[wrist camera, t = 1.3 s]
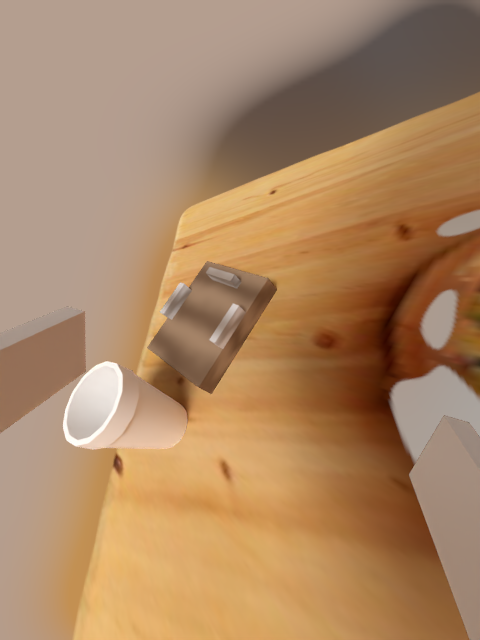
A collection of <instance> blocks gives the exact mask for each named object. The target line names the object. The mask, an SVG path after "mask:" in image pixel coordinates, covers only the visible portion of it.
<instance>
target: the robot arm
mask: <svg viewBox="0 0 480 640" xmlns="http://www.w3.org/2000/svg"><path fill="white" fill-rule="evenodd" d="M85 362H86V361H85V311H82V310H78V309H75V308H72V307H68V306H67V307H64V308H62V309H59V310H57V311H54V312H52V313H49V314H47V315H45V316H42V317H39V318H37V319H34V320H32V321H29V322H27V323H24V324H22V325H19V326H17V327H14V328H12V329H10V330H7V331H5V332H2V333H0V433H1V432H3V431H4V430H5V429H7V428H8V427H10V426H11V425H12V424H14V423H15V422H17V421H18V420H19V419H21V418H22V417H23V416H25V415H26V414H28V413H29V412H30V411H32V410H33V409H34V408H35V407H37V406H39V405H40V404H41V403H43V402H44V401H46V400H47V399H48V398H50V397H51V396H52V395H54V394H55V393H57V392H58V391H59V390H60V389H62V388H63V387H65V386H66V385H68V384H69V383H70V382H72V381H73V380H74V379H76V378H77V377H79V376H80V375H81V374H83V373H84V372H85V371H86V369H85V368H86V363H85ZM409 477H410V479H411V482H412V485H413V487H414V490H415V493H416V496H417V498H418V501H419V504H420V506H421V509H422V512H423V515H424V517H425V520H426V523H427V525H428V528H429V531H430V534H431V536H432V539H433V542H434V544H435V547H436V550H437V553H438V555H439V558H440V561H441V563H442V566H443V569H444V572H445V574H446V577H447V580H448V582H449V585H450V588H451V591H452V593H453V596H454V599H455V601H456V604H457V607H458V610H459V612H460V615H461V618H462V620H463V623H464V626H465V629H466V631H467V634H468V637H469V639H470V640H480V437H479V435H478V434H477V433H476V431H475V430H474V429H473V427H472V426H471V425H470V423H469V422H465V421H462V420H458V419H455V418H452V417H448V416H443V418H442V420H441V421H440V423H439V425H438V426H437V428H436V430H435V432H434V433H433V435H432V437H431V439H430V440H429V442H428V443H427V445H426V447H425V448H424V450H423V452H422V453H421V455H420V457H419V458H418V460H417V462H416V463H415V465H414V467H413V468H412V470H411V472H410V474H409Z"/></svg>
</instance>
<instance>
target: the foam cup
mask: <svg viewBox="0 0 480 640" xmlns="http://www.w3.org/2000/svg"><path fill="white" fill-rule="evenodd" d="M187 422H188V419H187V412H186V410H185V409H184V407H183V406H182V405H180V403H178V402H177V401H175V400H173V399H172V398H170V397H169V396H167V395H166V394H164V393H163V392H161V391H160V390H158V389H157V388H155V387H153V386H152V385H150V384H149V383H147V382H146V381H144V380H143V379H141V378H140V377H138V376H137V375H135V374H134V373H133V371H132V370H130V369H127V368H125V367H123V366H121V365H118V364H116V363H112V362H109V361H106V362H103V363H101V364H98V365H96V366H94V367H93V368H92V369H91V370H90V371H89V372H88V373H87V374H86V375H84V376H83V377H82V379H81V380H80V382H79V383H78V385H77V386H76V388H75V389H74V391H73V392H72V394H71V397H70V399H69V402H68V404H67V407H66V409H65V415H64V422H63V429H64V433H65V437H66V440H67V441H68V442H70V443H71V444H73V445H74V446H77V447H83V448H88V449H94V450H95V449H99V448H141V449H166V448H171V447H173V446H174V445H176V444H177V443H178V442H179V441H180V440H181V438H182V437H183V435H184V433H185V431H186V427H187Z"/></svg>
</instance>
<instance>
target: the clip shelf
mask: <svg viewBox="0 0 480 640" xmlns="http://www.w3.org/2000/svg"><path fill="white" fill-rule="evenodd" d="M276 290H277V289H276V288H275V287H274V285H273V284H272V283H271V281H270V280H269V279H268V278H265V277H262V276H258V275H255V274H251V273H247V272H244V271H240V270H237V269H233V268H230V267H226V266H222V265H219V264H215V263H212V262H208V261H207V262H206V263H205V265H204V266H203V268H202V269H201V271H200V272H199V274H198V275H197V276H196V278H195V279H194V281H193V282H192V284H191V285H190V287H189V288H188V287H187V286H186V285H185V284H183V283H181V282H180V284H179V285H178V287H177V288H176V289H175V291H174V292H173V294H172V295H171V297H170V298H169V299H168V301H167V302H166V304H165V305H164V306H163V308H162V309H161V311H160V313H162V314H163V315H165V316H166V317H168V318H167V320H166V321H165V323H164V324H163V326H162V327H161V328H160V330H159V331H158V333H157V334H156V336H155V337H154V339H153V340H152V341H151V343H150V344H149V346H148V347H147V348H148V349H149V350H151V351H152V352H153V353H155V354H156V355H157V356H159V357H160V358H161V359H162V360H164V361H165V362H166V363H168V364H169V365H170V366H171V367H173V368H174V369H175V370H177V371H178V372H179V373H181V374H182V375H183V376H184V377H186V378H187V379H188V380H190V381H191V382H192V383H194V384H195V385H196V386H197V387H199V388H201V389H203V390H205V391H207V392H209V393H211V394H212V392H213V390H214V389H215V387H216V386H217V384H218V382H219V381H220V379H221V378H222V376H223V374H224V373H225V371H226V370H227V368H228V367H229V365H230V363H231V362H232V360H233V359H234V357H235V355H236V354H237V352H238V351H239V349H240V347H241V346H242V344H243V343H244V341H245V340H246V338H247V336H248V335H249V333H250V332H251V330H252V328H253V327H254V325H255V324H256V322H257V320H258V319H259V317H260V316H261V314H262V312H263V311H264V309H265V308H266V306H267V305H268V303H269V301H270V300H271V298H272V297H273V295H274V293H275V292H276Z"/></svg>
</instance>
